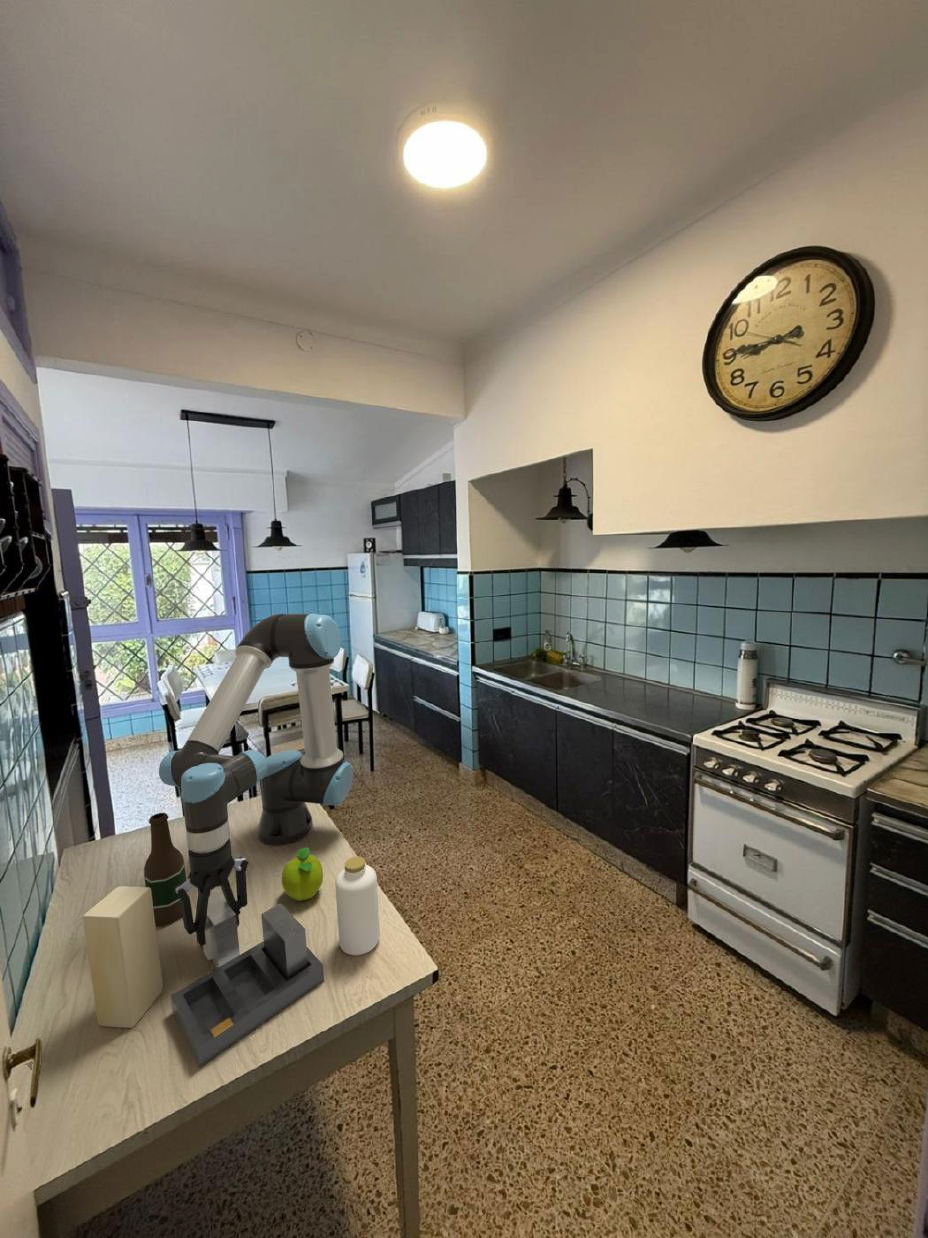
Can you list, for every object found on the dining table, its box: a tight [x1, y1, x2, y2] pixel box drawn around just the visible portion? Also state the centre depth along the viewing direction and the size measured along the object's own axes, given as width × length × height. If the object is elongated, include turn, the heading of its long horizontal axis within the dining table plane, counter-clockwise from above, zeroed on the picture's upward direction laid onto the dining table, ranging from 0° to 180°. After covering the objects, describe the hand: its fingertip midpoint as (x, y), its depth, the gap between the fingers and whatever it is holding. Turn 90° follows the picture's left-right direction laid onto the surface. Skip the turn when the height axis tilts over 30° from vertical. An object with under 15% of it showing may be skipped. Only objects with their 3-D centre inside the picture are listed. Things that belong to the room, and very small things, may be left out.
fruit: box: [281, 847, 324, 902], centre depth 117 cm, size 9×9×10 cm
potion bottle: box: [334, 856, 381, 956], centre depth 102 cm, size 8×8×18 cm
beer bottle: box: [143, 812, 187, 927], centre depth 111 cm, size 8×8×24 cm
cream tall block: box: [82, 885, 164, 1029], centre depth 88 cm, size 8×7×21 cm
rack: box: [170, 903, 325, 1069], centre depth 91 cm, size 22×14×11 cm, turn 135°
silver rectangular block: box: [206, 890, 241, 968], centre depth 101 cm, size 4×10×10 cm, turn 45°
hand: (220, 949), depth 102 cm, fingers closed on silver rectangular block, 4 cm apart
